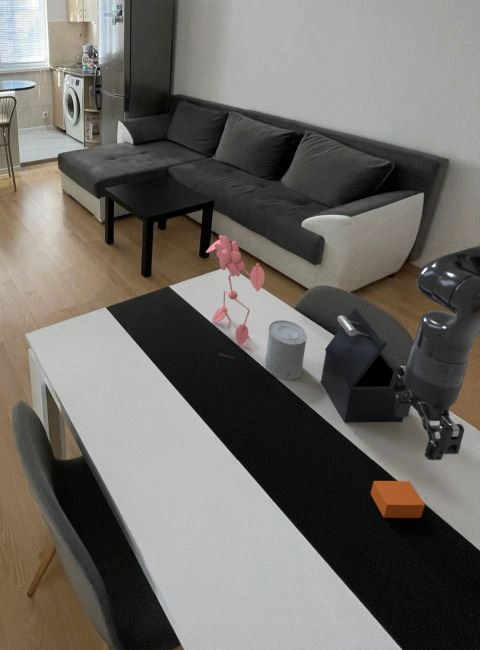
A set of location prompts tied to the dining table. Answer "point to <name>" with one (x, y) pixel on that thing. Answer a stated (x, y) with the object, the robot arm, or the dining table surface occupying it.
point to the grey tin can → (285, 349)
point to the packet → (397, 499)
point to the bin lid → (355, 346)
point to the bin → (362, 392)
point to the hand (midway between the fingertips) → (415, 435)
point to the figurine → (233, 262)
